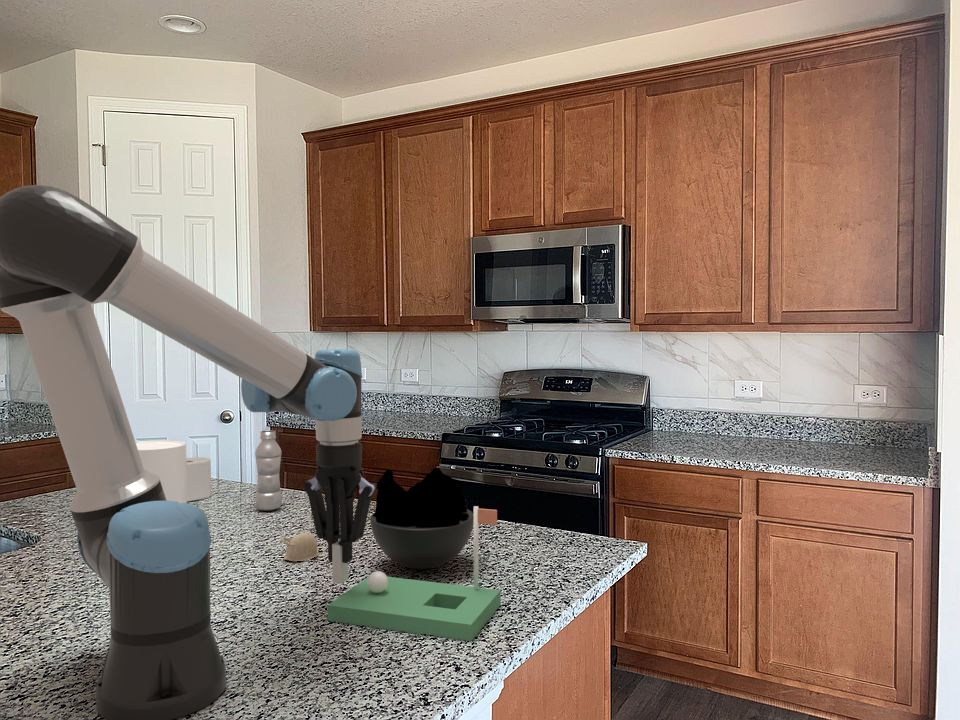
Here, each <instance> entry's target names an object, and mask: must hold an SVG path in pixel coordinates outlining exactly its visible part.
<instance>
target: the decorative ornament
mask: <svg viewBox="0 0 960 720" xmlns="http://www.w3.org/2000/svg"><path fill="white" fill-rule="evenodd" d="M280 541H281V542H282V543H283V544H284V545H286V546H287V547H286V554H285V556H284V558H283V559H284V560H283V561H285V560H286V561H290V562H297V561H303V560H308V559H312V558H314V557H315V558H317V557H318V555H319V554H320V553H319V551H318V542H317V540H316V537H315V536H314V535H313V534H312V533H309V532H302V533H299V534H297V535H295V536H293V537H292V538H288V537H286V536H281V537H280ZM315 558H314V559H315Z"/></svg>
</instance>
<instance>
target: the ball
mask: <svg viewBox="0 0 960 720" xmlns="http://www.w3.org/2000/svg"><path fill="white" fill-rule="evenodd" d="M367 577H368V579H367V586H368V588H369V590H370V591H372V592H373V593H381V592H383V591H384V590H385V589H386V588H387V586H388V578H387V577H388V576H387V575H386V573H385V572H383V571H380V570H378V571H377V570H376V571H373V572H371V573H370V574H369V575H368V576H367Z"/></svg>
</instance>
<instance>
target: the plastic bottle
mask: <svg viewBox="0 0 960 720" xmlns="http://www.w3.org/2000/svg"><path fill="white" fill-rule="evenodd" d="M259 439H260V440H261V441H260V443H258V445H257V446H256V448H255V454H254V455H255V456H254V457H255V461H256V462H255V463H256V470H257V471H256V472H257V483H256V485H257V487H256V492H255V493H256V494H255V500H254V501H255V506H256V508H257V510H259V511H266V512H269V511H270V512H271V511H274V510H277V509H280V507H281V506H282V501H283V496H282V490H281V482H280V470H281V468H280V467H281V461H282V459H281V458H282V449H281V447H280V445H279V443H277V441H276V439H277V436H276V430H273V429H271V430H268V429H267V430H261V431H260V437H259Z"/></svg>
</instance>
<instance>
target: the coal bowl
mask: <svg viewBox="0 0 960 720" xmlns="http://www.w3.org/2000/svg"><path fill="white" fill-rule="evenodd" d="M376 486H377V489H376V490H377V493H376V499H375V500H376V503H375V512H373V513H372V514H371V516H370V520H369V521H370V527H371V532H372V535H373V538H374V539H375V541H376V544H377V545H378V546H379V548H380V550H381V551H382V552H383V553H384V554H385V555H386V556H387V558H389V559H390V560H392V561H393V562H395V563H397V564H398V565H401V566H403V567H405V568H409V569H413V570H414V569H415V570H428V569H433V568H437V567H440V566H442V565H444V564H446V563H449V562H450V561H451V560H453V559H454V558H455V557H457V556H458V555H459V553H461V552H462V550H463V549H464V547H465V546H466V545H467V543H468V542H469V539H470V537H471V535H472V532H473V530H474V511H472V510H470V509H468V508H467V501H466V500H465V498H464V496H463V494H462V490H463V488H464V486H463V483H461V481H459V480H458V479H457V478H453V477H451V476H450V475H447V474H445V473H443V471H442V470H441V469H440V468H439V467H433V469H432V470H431V471H430V472H429V473H426V474H425V477H424V478H423V479H422V480H421V481H418V482H417V483H415V484H414V485H413V486H410V487H409V488H408V489H407V490H405V489H404V488H403V486H401V485H399V484H398V483H397V482H396V481H395V479H394V472H393V470H392V469H386V470H385V471H384V472H383V474H382V477H381V478H380V479H379V480H378V481H377V483H376Z"/></svg>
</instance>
